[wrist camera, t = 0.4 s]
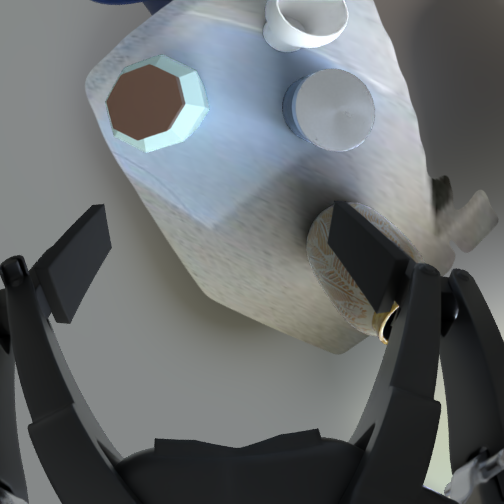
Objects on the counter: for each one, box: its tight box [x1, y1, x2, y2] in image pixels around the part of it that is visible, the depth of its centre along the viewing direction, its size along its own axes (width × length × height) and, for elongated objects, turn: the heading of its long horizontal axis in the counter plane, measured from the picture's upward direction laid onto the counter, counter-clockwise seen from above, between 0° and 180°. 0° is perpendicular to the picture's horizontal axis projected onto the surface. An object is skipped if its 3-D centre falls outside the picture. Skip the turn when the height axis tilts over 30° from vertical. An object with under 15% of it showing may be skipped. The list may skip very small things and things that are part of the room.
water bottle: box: [105, 54, 210, 153], centre depth 29 cm, size 10×10×25 cm
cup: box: [263, 0, 348, 52], centre depth 29 cm, size 11×11×15 cm
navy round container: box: [282, 69, 375, 152], centre depth 39 cm, size 13×13×9 cm
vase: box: [306, 202, 426, 345], centre depth 44 cm, size 17×17×27 cm
